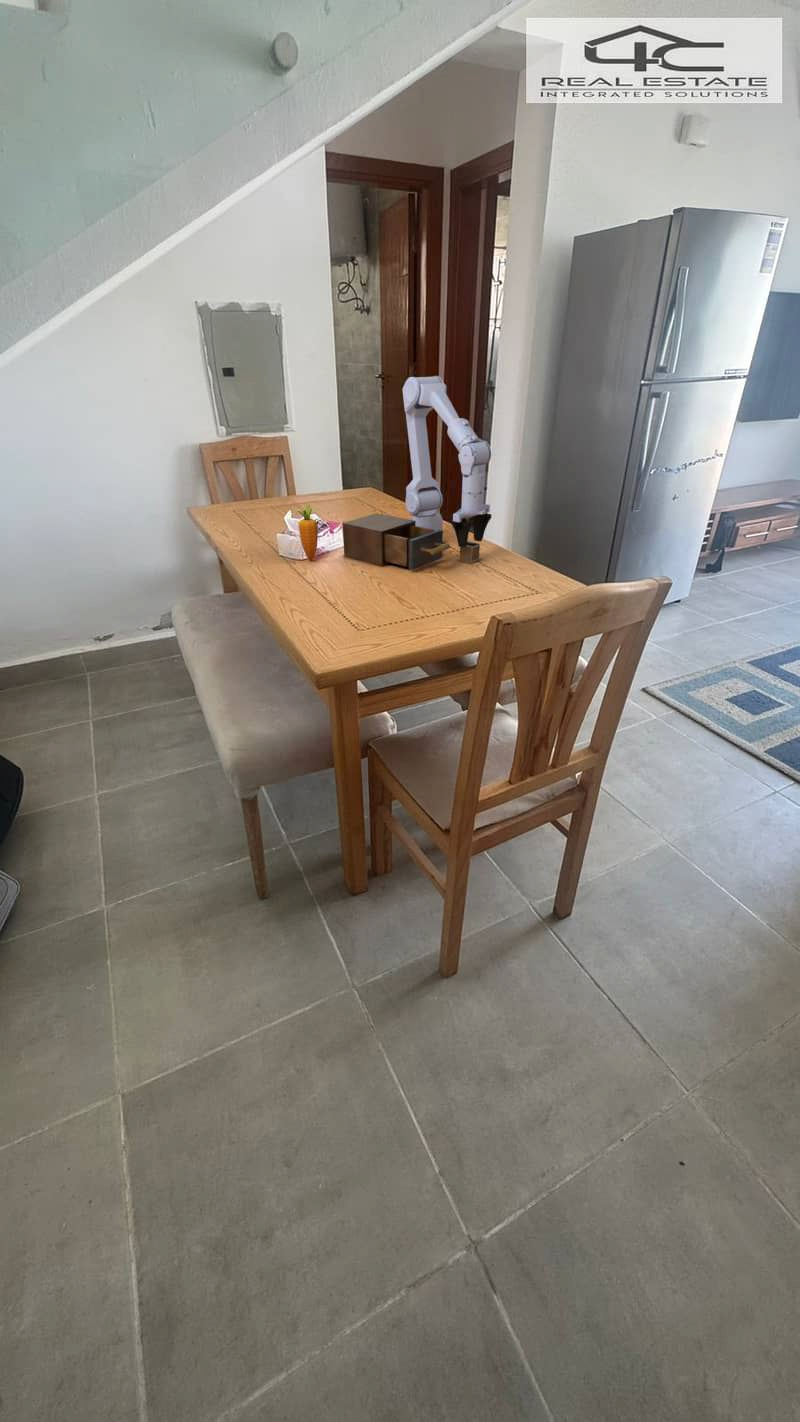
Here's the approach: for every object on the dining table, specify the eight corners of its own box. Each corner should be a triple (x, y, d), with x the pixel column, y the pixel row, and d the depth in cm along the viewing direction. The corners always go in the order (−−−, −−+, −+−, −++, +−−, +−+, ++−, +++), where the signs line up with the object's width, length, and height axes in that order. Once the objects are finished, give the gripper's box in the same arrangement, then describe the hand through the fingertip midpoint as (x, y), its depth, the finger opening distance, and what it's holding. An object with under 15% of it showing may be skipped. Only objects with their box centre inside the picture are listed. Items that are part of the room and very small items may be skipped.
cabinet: (415, 554, 173) (415, 520, 168) (382, 566, 164) (381, 531, 159) (377, 545, 181) (377, 513, 176) (344, 556, 172) (342, 522, 167)
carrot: (311, 564, 165) (306, 508, 157) (298, 561, 168) (292, 505, 160) (323, 560, 169) (319, 504, 161) (310, 557, 171) (306, 502, 163)
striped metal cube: (467, 557, 170) (468, 539, 168) (479, 560, 168) (480, 542, 165) (459, 560, 168) (460, 542, 165) (471, 563, 165) (472, 545, 163)
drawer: (456, 561, 164) (457, 533, 160) (426, 573, 156) (427, 544, 152) (404, 549, 174) (404, 522, 170) (374, 560, 166) (373, 532, 162)
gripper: (470, 498, 151) (467, 552, 158) (500, 489, 161) (496, 540, 168) (447, 495, 155) (445, 547, 162) (478, 486, 165) (475, 536, 172)
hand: (470, 543), depth 165 cm, fingers open, 7 cm apart
